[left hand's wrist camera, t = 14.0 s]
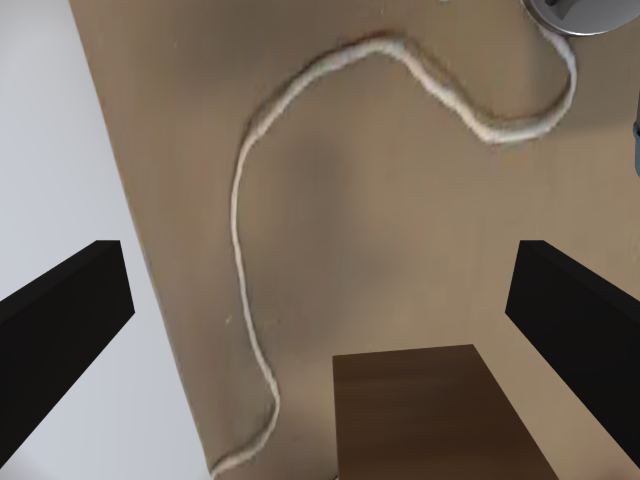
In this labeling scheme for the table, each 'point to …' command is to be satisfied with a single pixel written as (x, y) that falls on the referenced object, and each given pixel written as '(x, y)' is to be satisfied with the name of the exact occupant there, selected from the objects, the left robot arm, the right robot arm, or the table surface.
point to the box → (429, 419)
